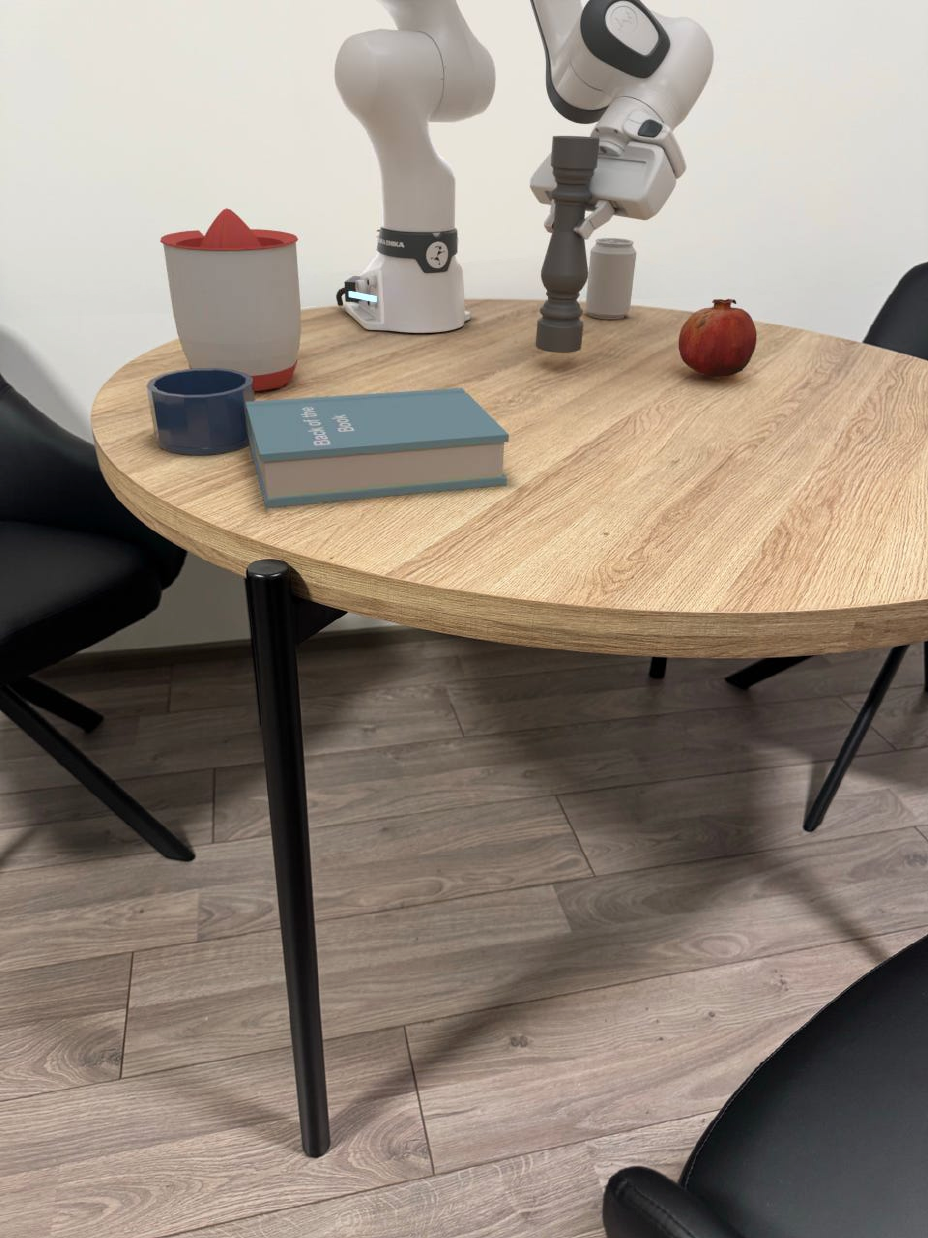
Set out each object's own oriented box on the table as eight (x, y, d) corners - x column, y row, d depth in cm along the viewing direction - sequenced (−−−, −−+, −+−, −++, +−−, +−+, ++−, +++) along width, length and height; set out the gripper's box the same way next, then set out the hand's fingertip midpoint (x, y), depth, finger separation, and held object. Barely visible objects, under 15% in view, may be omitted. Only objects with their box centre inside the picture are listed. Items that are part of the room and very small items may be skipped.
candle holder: (528, 342, 120) (542, 135, 107) (568, 339, 122) (587, 135, 109) (547, 354, 115) (564, 138, 102) (589, 351, 117) (611, 139, 104)
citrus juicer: (293, 358, 121) (280, 198, 110) (319, 394, 107) (308, 215, 96) (175, 366, 116) (150, 200, 106) (187, 405, 102) (159, 218, 92)
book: (265, 507, 78) (260, 454, 75) (249, 446, 91) (244, 398, 88) (506, 484, 84) (508, 434, 81) (458, 430, 97) (459, 385, 94)
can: (628, 321, 145) (637, 243, 139) (582, 318, 146) (589, 241, 140) (629, 312, 151) (638, 237, 145) (586, 309, 153) (593, 235, 146)
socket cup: (145, 430, 94) (136, 375, 91) (239, 416, 99) (233, 363, 96) (171, 461, 87) (162, 402, 84) (272, 445, 91) (266, 388, 88)
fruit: (718, 392, 111) (732, 310, 106) (657, 374, 118) (668, 296, 113) (767, 378, 117) (782, 301, 112) (706, 362, 124) (718, 288, 119)
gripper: (556, 119, 115) (497, 204, 115) (680, 128, 102) (614, 224, 102) (576, 156, 120) (520, 238, 120) (697, 169, 107) (634, 262, 107)
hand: (564, 232), depth 111 cm, fingers closed on candle holder, 4 cm apart
